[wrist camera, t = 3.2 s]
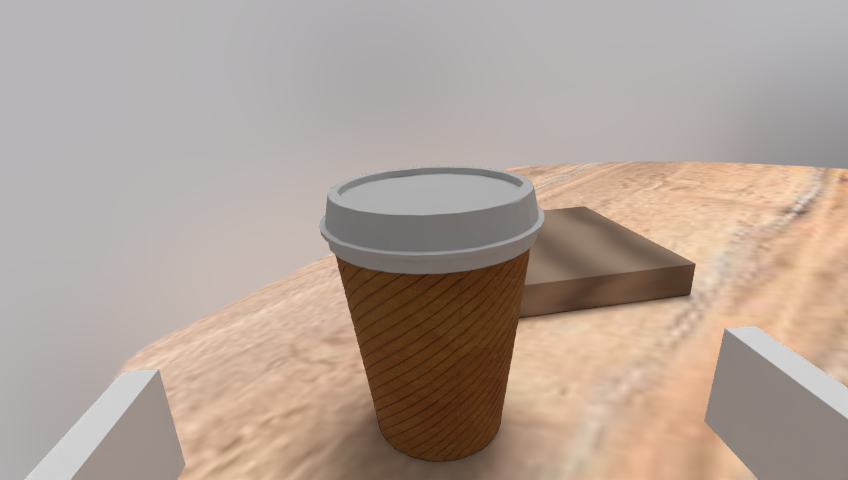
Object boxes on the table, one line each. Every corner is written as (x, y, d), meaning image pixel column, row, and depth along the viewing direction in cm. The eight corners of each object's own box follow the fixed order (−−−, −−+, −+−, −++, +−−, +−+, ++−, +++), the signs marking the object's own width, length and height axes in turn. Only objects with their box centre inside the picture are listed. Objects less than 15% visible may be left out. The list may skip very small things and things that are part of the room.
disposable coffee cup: (426, 539, 17) (408, 240, 13) (313, 408, 24) (278, 188, 20) (573, 418, 22) (594, 182, 18) (446, 340, 29) (441, 157, 25)
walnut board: (582, 228, 49) (584, 206, 48) (690, 294, 34) (695, 263, 33) (438, 244, 46) (437, 220, 45) (485, 322, 31) (485, 289, 30)
